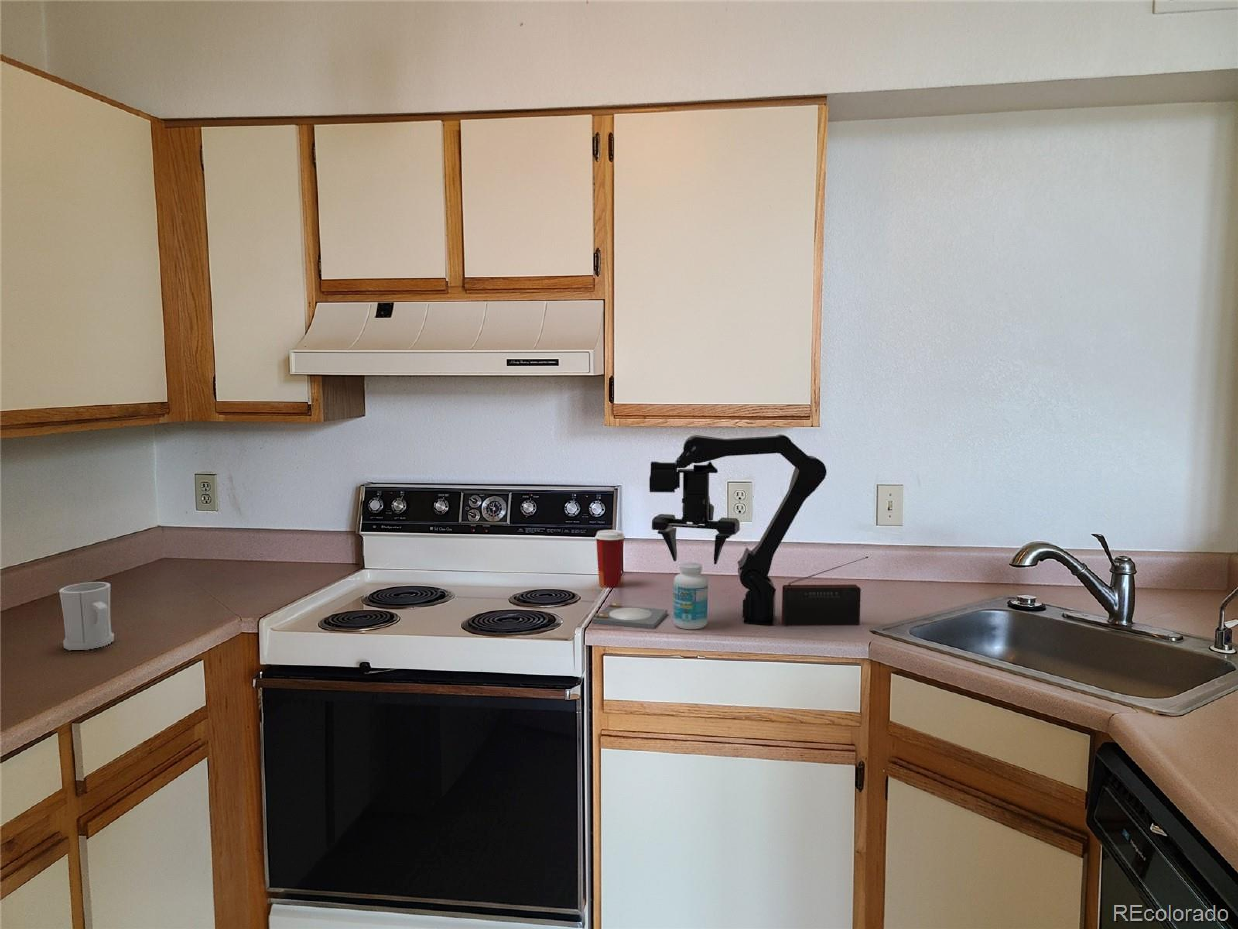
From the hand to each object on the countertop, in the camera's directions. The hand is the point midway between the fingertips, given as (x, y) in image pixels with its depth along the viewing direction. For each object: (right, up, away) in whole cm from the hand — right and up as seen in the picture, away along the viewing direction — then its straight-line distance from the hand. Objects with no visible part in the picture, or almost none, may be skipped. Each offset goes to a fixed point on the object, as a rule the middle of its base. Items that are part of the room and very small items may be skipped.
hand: (695, 562), depth 190 cm
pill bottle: (-1, -14, -3) cm, 14 cm away
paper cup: (-19, -10, +32) cm, 39 cm away
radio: (+28, -14, -2) cm, 32 cm away
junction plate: (-14, -13, +2) cm, 19 cm away
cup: (-124, -15, -15) cm, 126 cm away
